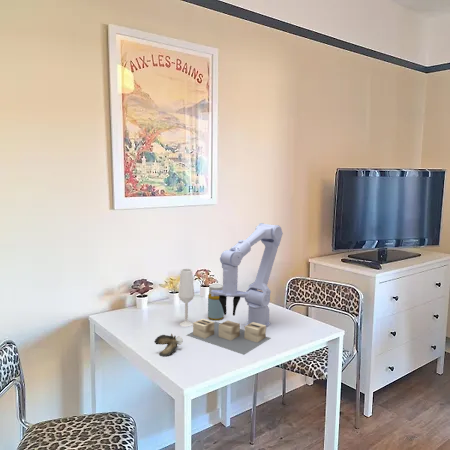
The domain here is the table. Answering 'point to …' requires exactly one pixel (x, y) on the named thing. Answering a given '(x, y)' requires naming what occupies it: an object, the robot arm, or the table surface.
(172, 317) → the table surface
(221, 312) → the bottle
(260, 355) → the table surface
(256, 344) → the charcoal rubber mat
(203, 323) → the two-bar birch block
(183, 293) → the champagne flute
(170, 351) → the eagle figurine
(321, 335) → the table surface
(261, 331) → the one-bar birch block
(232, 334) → the plain birch block
